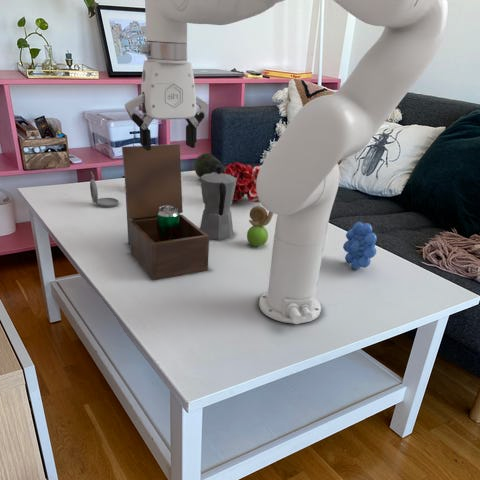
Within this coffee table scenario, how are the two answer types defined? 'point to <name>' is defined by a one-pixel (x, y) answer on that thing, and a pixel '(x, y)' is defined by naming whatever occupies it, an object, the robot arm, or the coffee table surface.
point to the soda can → (168, 223)
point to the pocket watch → (102, 201)
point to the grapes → (360, 245)
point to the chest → (169, 249)
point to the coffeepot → (217, 204)
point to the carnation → (242, 173)
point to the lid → (152, 179)
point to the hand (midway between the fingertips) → (169, 147)
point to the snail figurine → (258, 226)
